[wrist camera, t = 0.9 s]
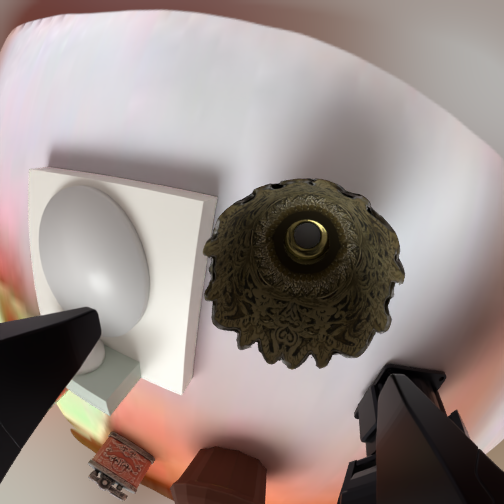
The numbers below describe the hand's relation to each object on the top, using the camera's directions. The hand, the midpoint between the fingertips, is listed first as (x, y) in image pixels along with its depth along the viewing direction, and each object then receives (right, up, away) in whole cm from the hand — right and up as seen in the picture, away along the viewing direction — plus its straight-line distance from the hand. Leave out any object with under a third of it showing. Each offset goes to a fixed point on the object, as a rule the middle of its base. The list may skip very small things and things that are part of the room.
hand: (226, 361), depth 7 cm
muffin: (-2, -24, +20) cm, 31 cm away
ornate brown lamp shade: (+4, +4, +10) cm, 11 cm away
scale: (-12, +1, +14) cm, 18 cm away
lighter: (-18, -27, +25) cm, 41 cm away
